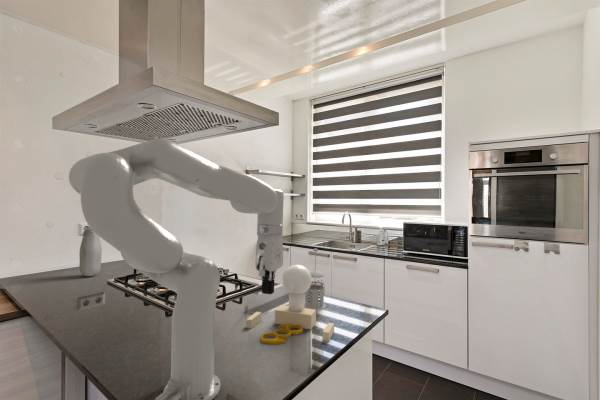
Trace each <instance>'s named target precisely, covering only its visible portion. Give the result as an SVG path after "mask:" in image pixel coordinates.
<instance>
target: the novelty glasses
mask: <svg viewBox="0 0 600 400" xmlns="http://www.w3.org/2000/svg"><path fill="white" fill-rule="evenodd" d="M277 328H278V329H275V331H273V332H267V333H263V334H262V335H261V336H260V338H259V339H260V342H261V343H263V344H266V345H268V344H269V345H281V344H286V343H287V342H288V340H287V339H290V338H291V336H292V335H299V334H302V333H303V332H304V328H302V327H301V326H299V325H292V324H286V325H279V326H278V327H277ZM292 329H293V330H292ZM297 329H298V330H297ZM280 333H286V334H280ZM267 337H273V338H267Z"/></svg>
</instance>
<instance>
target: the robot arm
mask: <svg viewBox="0 0 600 400" xmlns="http://www.w3.org/2000/svg"><path fill="white" fill-rule="evenodd" d="M68 179H69V180H68V181H69V184H70V186H71V188H72V189H73V190H74V191H75V192H76V193H78V194H79V195H80V205H81V210H82V214H83V217H84V219H85V221H86V224H87V225H88V226H89V228H91V229H92V230H93V231H94V232H95V233H96V234H97V235H98V236H99V238H101V239H102V240H104V242H106V243H107V244H109V245H111V246H112V248H115V249H116V250H117V251H119V252H120V255H121V257H122V259H123V260H124V262H125V263H127V265H129V266H130V267H131V268H133V269H135V270H136V271H138V272H139V273H142V275H144V276H146V277H147V278H149V279H150V280H152V281H153V282H155V283H156V284H158V285H160V286H162V287H164V288H166V289H167V290H170V291H172V292H174V293H176V298H175V299H176V300H175V304H174V306H173V311H172V315H171V347H170V348H171V350H170V351H171V352H170V354H171V355H170V357H171V358H170V361H171V362H170V366H171V367H170V378H169V380H168V381H167V384H166V385H165V387H164V388H163V392H162V393H160V394H159V395H158V396H157V397H155V398H154V400H213V399H215V398H216V397H217V396H218V394H219V392H220V391H221V390H220V389H221V380H220V378H219V377H218V375H216V374H215V339H216V336H215V335H216V333H215V329H216V325H215V324H216V322H215V321H216V303H217V297H218V296H217V295H218V291H219V286H220V281H221V280H220V279H221V278H220V277H221V276H220V275H221V273H220V270H219V269H218V266H217V265H216V263H214V261H212V260H211V259H209V258H207V257H204V256H201V255H197V254H193V253H188V252H185V251H184V248H183V245H182V243H181V241H180V239H178V237H177V236H176V235H175V234H174V233H172V232H170V231H169V230H167V229H166V228H165V227H164V226H162V225H161V224H159V222H157V221H156V220H154V218H152V217H150V216H149V215H148V214H147V213H146V212H145V211H143V209H142V208H140V206H139V205H138V203H136V202H137V201H136V200H135V197H134V186H136V185H139V184H142V183H144V182H147V181H150V180H153V179H159V180H161V181H164V182H167V183H169V184H171V185H174V186H177V187H179V188H180V189H181V188H182V189H184V190H186V191H188V192H191V193H193V194H196V195H198V196H200V197H205V198H209V199H212V200H213V199H216V200H224V201H229V202H230V206H231V207H232V209H234V210H235V211H237V213H241V214H254V215H255V214H256V215H257V220H256V221H257V224H256V236H257V241H256V246H255V247H256V249H255V269H256V270H257V271H258V276H259V277H261V293H262V294H264V295H272V294H274V292H275V278H276V271H277V270H279V269H281V268H282V267H283V265H284V244H283V243H284V242H283V234H284V233H283V227H284V225H283V224H284V223H283V222H284V200H285V199H284V195H285V193H284V191H283V190H281V189H278V188H273V187H272V186H271V185H269V184H268V183H266V182H264V181H262V180H261V179H258V178H256V177H254V176H252V175H250V174H249V175H248V174H246V173H244V172H241V171H238V170H234V169H233V168H230V167H225V166H222V165H219V164H216V163H215V162H212V161H210V160H209V159H206V158H205V157H202V156H200V155H199V154H197V153H195V152H194V151H191V150H190V149H187V148H185V147H184V146H181V145H179V144H178V143H176V142H174V141H172V140H169V139H165V138H153V139H151V140H147V141H143V142H140V143H137V144H134V145H131V146H128V147H125V148H121V149H117V150H113V151H109V152H101V153H96V154H93V155H92V154H91V155H90V156H86V157H84V158H80V159H79V160H78V161H76V162H75V163H74V164H73V165H72V167H70V169H69V173H68Z"/></svg>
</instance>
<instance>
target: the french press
mask: <svg viewBox="0 0 600 400" xmlns="http://www.w3.org/2000/svg"><path fill="white" fill-rule="evenodd" d="M312 251H313V252H315V253H314V255H315V256H314V269H313V270H309V271H310V273H311V277H312V279H317V278H318V280H317V281H316V280H314V281H313V280H312V283H311V286H310V288H309V289H308V290H307V291H306V292H305V308H308V309H315V310H316V311H321V310H324V309H325V308H327V307H326V305H325V304H324V303H325V301H324V297H325V296H324V295H325V293H326V292H325V291H326V289H325V283H324V280H323V279H321V280H319V278H323V277H324V276H325V274H324V273H323V272H322V271H320V270H316V267H317V266H316V263H317V262H316V261H317V260H316V259H317V257H316V255H317V252H318V251H319V250H318V248H313V250H312Z"/></svg>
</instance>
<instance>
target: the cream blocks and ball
mask: <svg viewBox="0 0 600 400" xmlns="http://www.w3.org/2000/svg"><path fill="white" fill-rule="evenodd" d="M310 271H311V270H309V269H308V268H307V267H306V266H305V265H302V264H297V263H296V264H292V265H290V266H288V267H287V268H286V269H285V270H284V272H283V274H282V279H281V281H282V285H283V287H284V289H285V290H286V292H288V305H284V304H280V305H279V306H278V307H277V308H276V309H274V324H276V325H279V326H281V325H286V324H292V325H299V326H301V327H302V328H303V329H306V330H312V329H313V327H314V326H315V325H316V324H317V310H315V309H308V308H305V303H306V293H307V290H308V289H309V288H310V286H311V283H312V281H313V277H311V273H310ZM245 320H246V321H245V328H246V329H252V328H254V327H255V326H256V325H258V324H259V323H260V322H261V321H262V311H255V312H254V313H253V314H252V315H250V316H249V317H247V318H246V319H245ZM334 333H335V323H334V322H327V324H326V326H325V327H324V328H323V330H322V342H326V343H329V342H330V340H331V338H332V337H333V334H334Z"/></svg>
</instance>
